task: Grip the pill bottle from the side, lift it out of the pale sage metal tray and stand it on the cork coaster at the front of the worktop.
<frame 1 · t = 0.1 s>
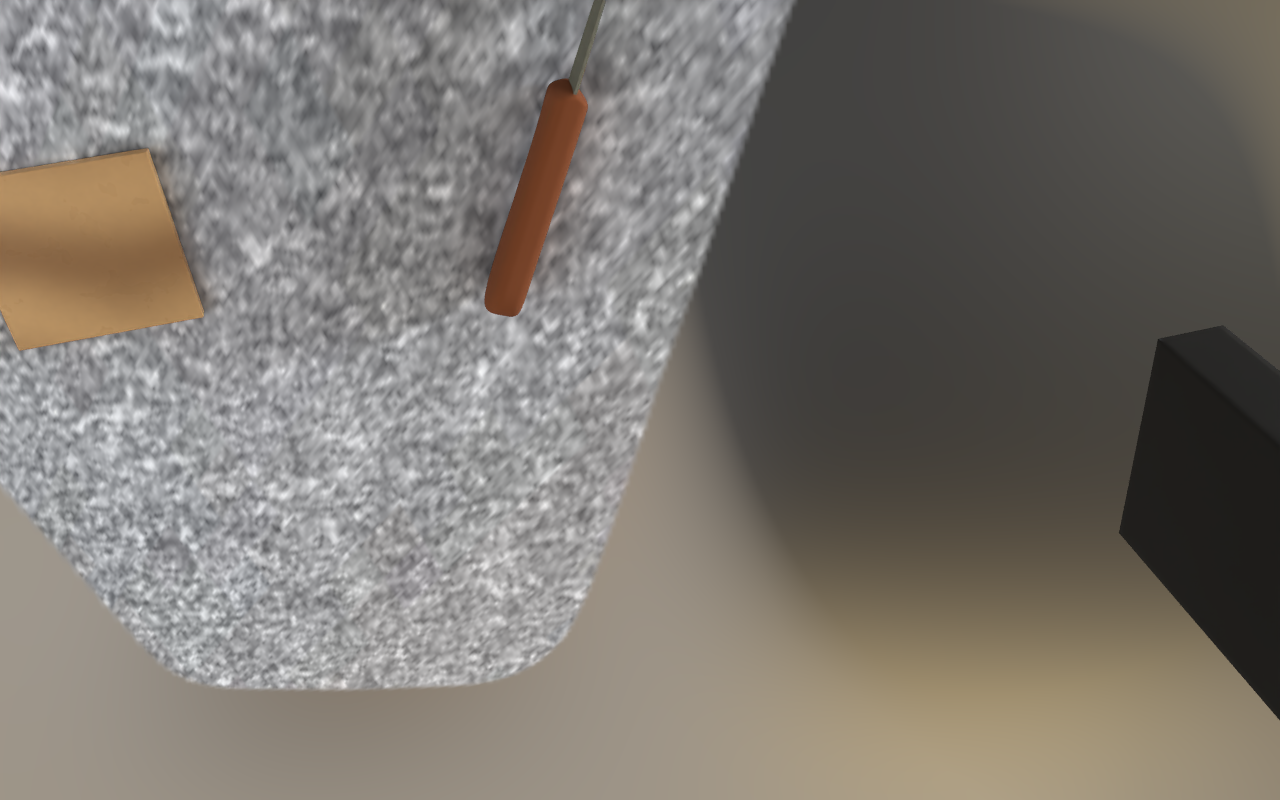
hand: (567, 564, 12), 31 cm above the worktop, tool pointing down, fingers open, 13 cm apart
kitchen knife: (555, 104, 42), on the worktop
coaster: (82, 249, 41), on the worktop
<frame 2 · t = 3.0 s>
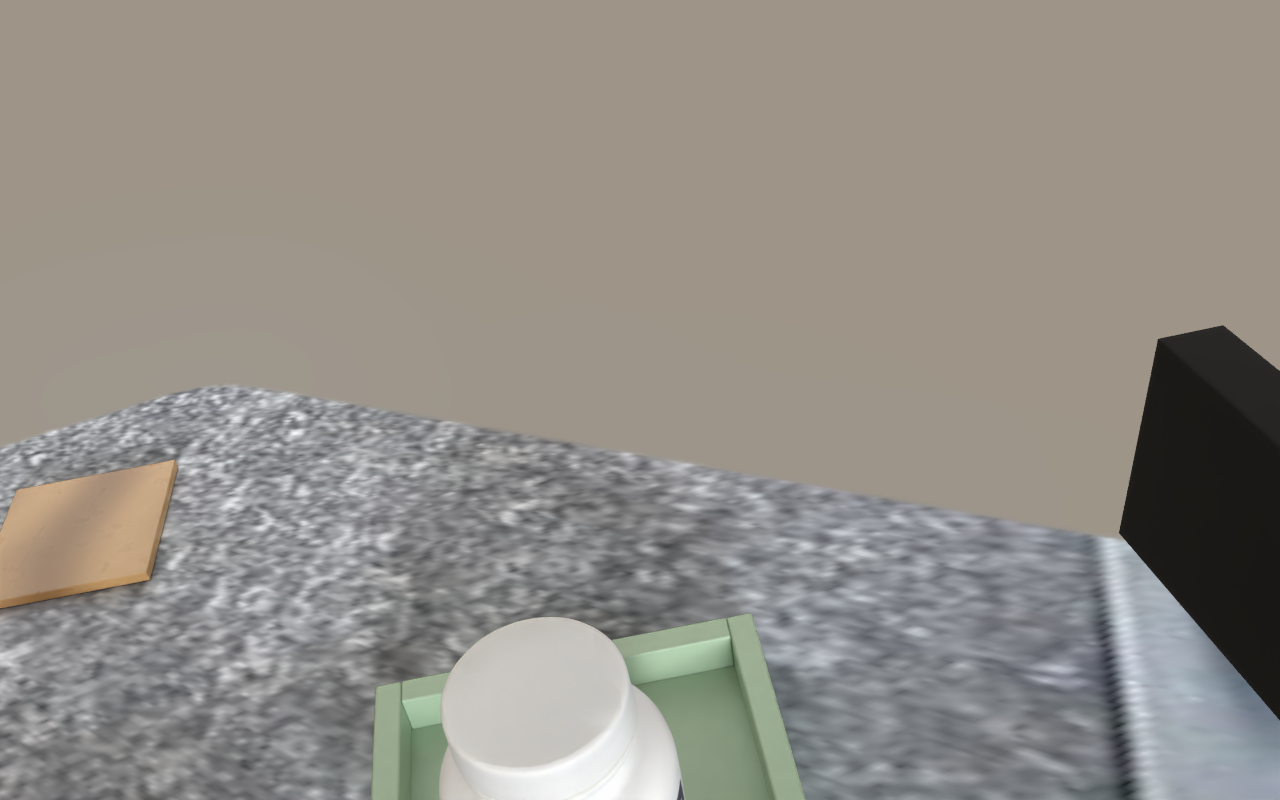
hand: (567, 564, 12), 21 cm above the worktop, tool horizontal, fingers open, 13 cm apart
coaster: (82, 536, 46), on the worktop
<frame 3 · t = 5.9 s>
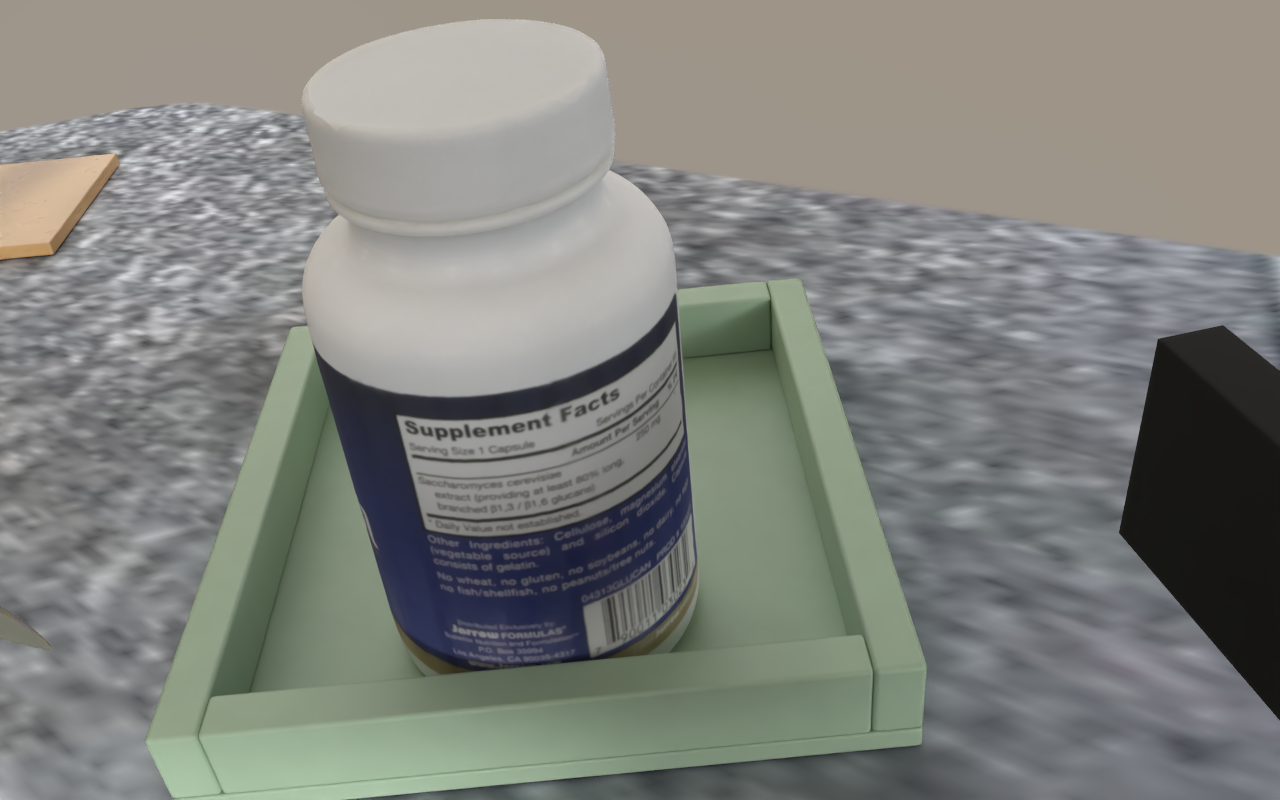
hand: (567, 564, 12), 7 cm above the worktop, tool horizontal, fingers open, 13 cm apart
tray: (553, 532, 23), on the worktop
pill bottle: (550, 609, 21), resting on tray
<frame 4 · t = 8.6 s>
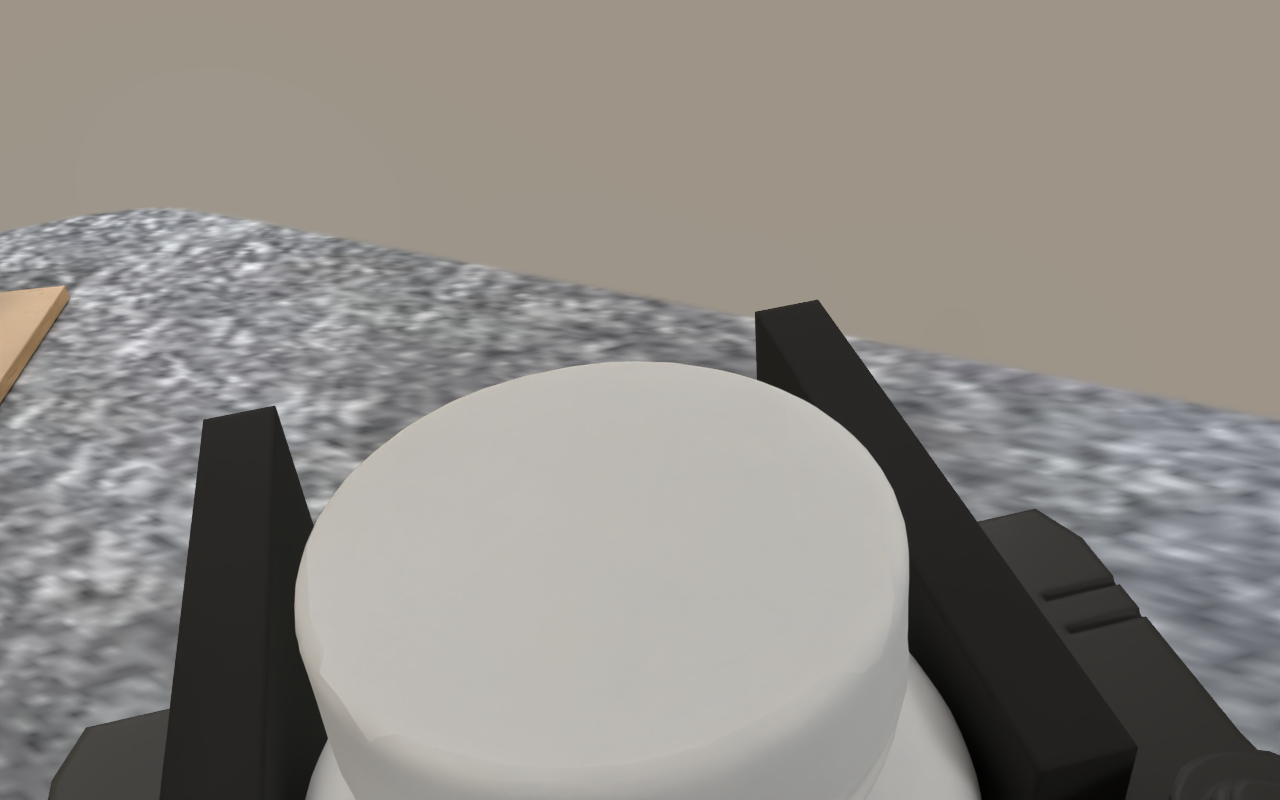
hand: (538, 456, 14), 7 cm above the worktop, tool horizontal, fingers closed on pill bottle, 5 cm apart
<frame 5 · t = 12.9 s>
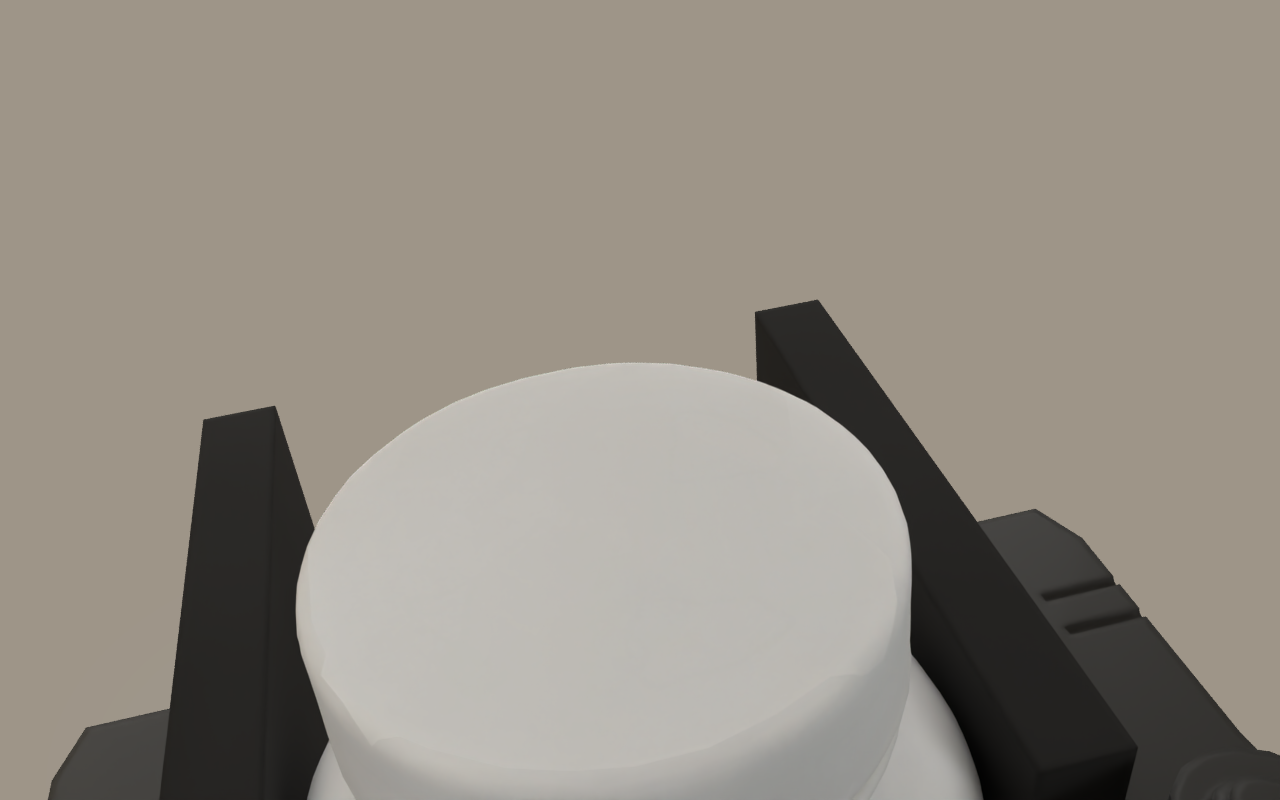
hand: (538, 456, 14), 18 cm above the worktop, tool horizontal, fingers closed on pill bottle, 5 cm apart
when the fingers open (7 cm above the worktop, at t = 17.5 s): pill bottle stays where it is, resting on coaster.
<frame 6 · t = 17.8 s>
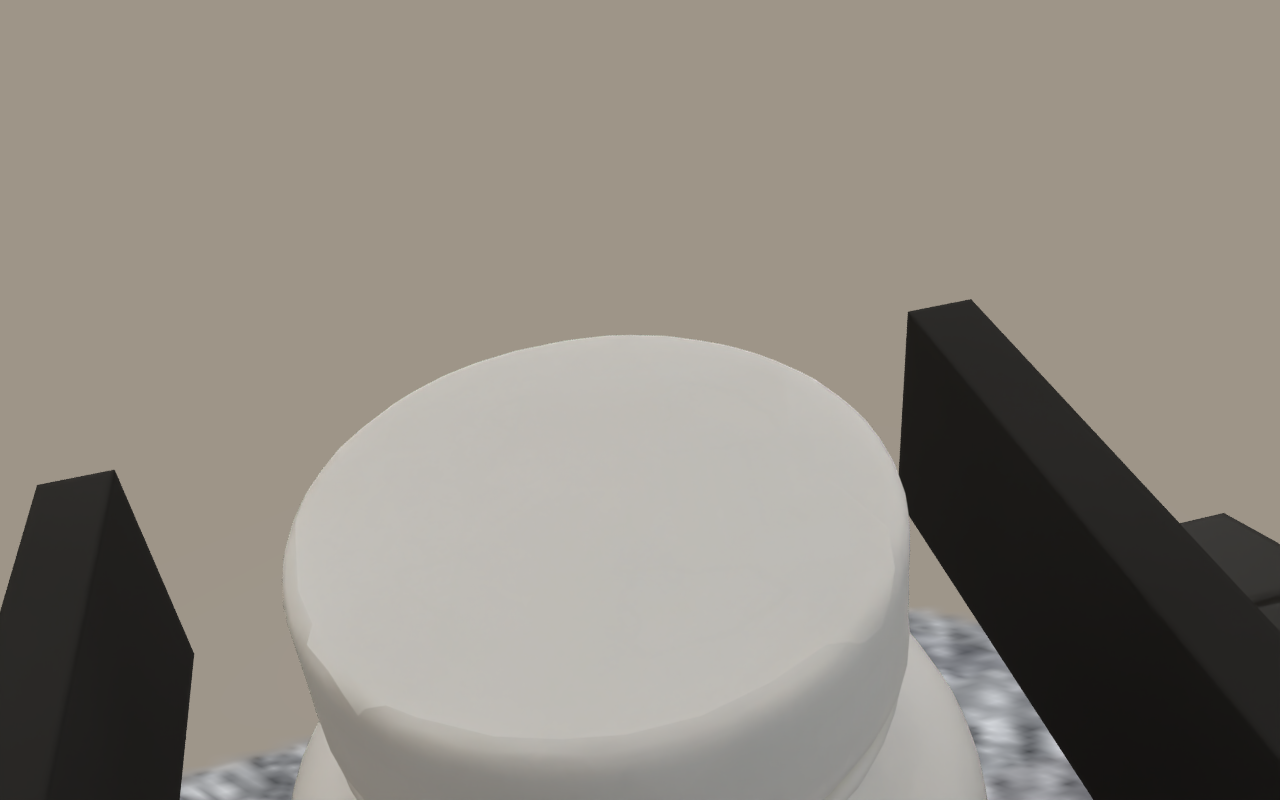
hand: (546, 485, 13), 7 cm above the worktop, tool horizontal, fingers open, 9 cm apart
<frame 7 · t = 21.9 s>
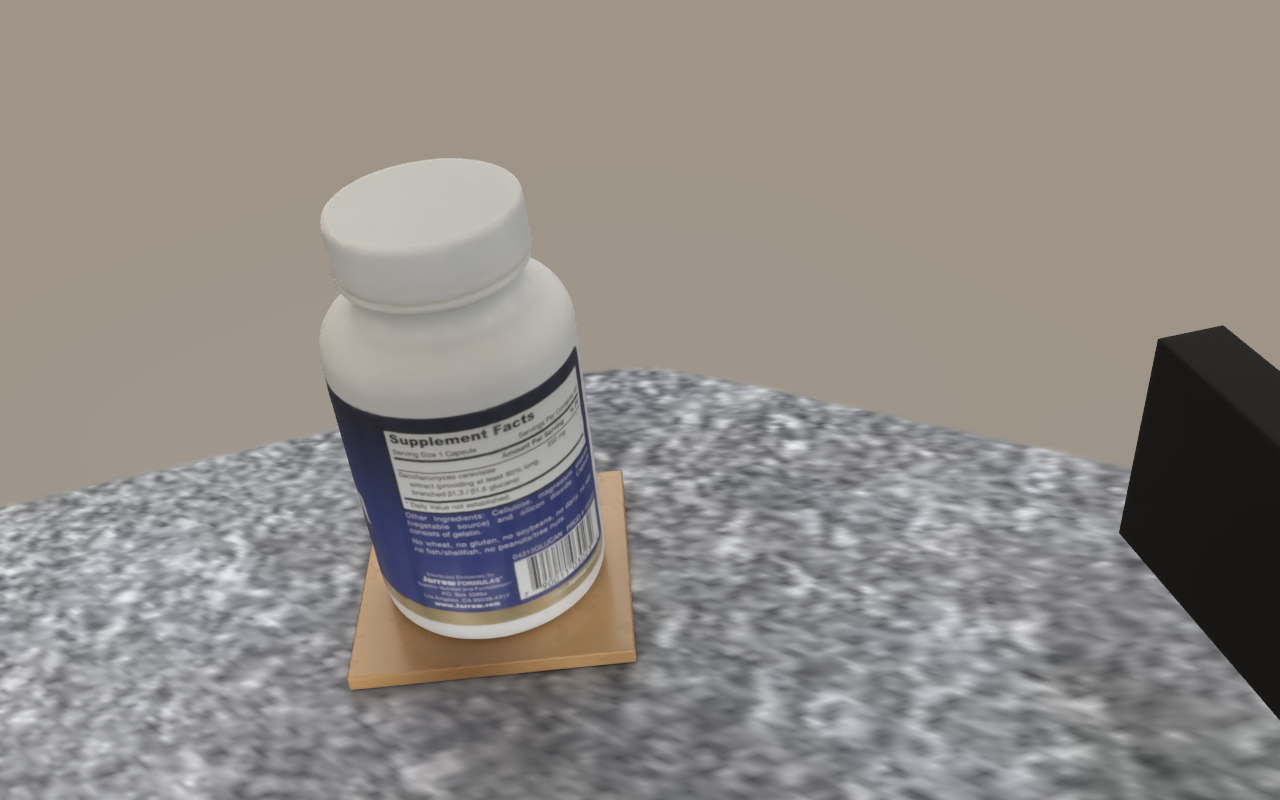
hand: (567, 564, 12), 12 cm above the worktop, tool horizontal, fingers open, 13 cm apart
pill bottle: (497, 570, 29), resting on coaster
coaster: (498, 576, 29), on the worktop
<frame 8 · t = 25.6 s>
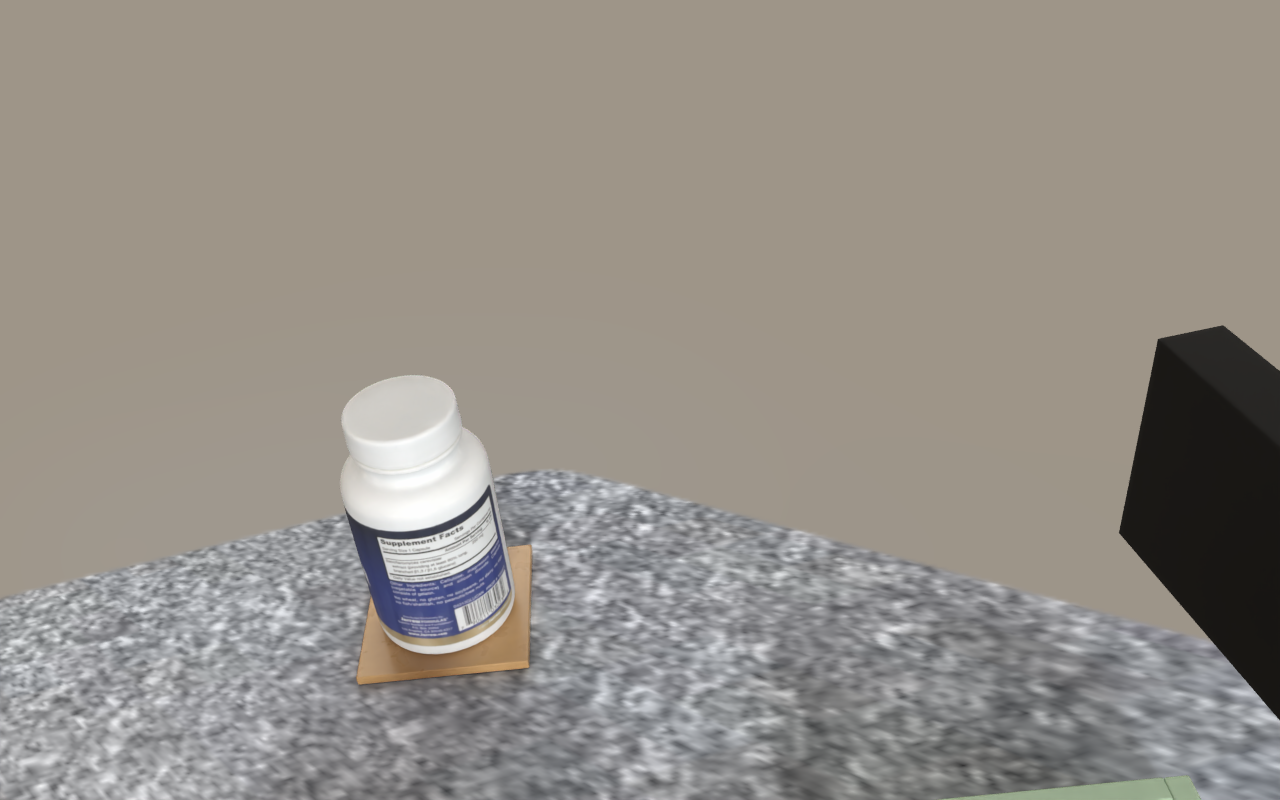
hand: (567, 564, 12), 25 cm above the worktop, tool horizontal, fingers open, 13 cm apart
pill bottle: (449, 611, 47), resting on coaster
coaster: (450, 614, 47), on the worktop
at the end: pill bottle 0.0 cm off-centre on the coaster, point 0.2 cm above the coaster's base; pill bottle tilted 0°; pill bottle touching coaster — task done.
